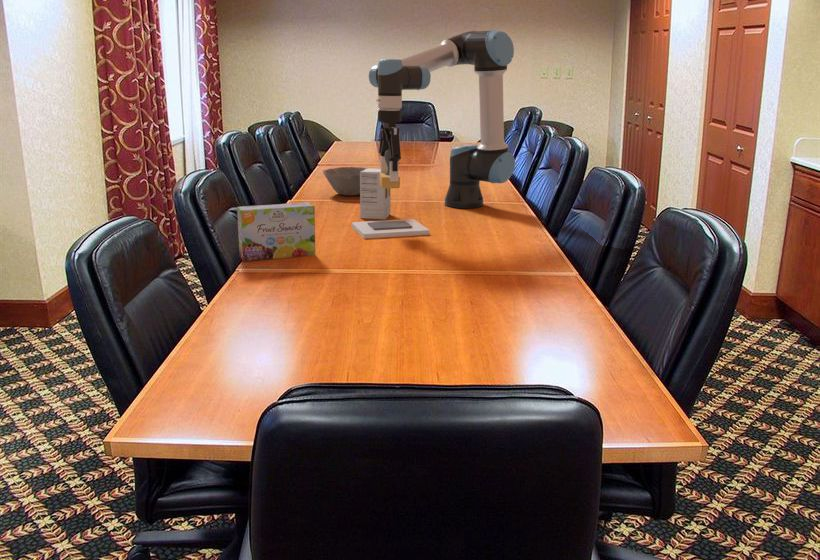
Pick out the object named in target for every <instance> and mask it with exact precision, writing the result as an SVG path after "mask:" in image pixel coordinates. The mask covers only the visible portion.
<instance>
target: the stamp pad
mask: <svg viewBox="0 0 820 560" xmlns="http://www.w3.org/2000/svg"><path fill="white" fill-rule="evenodd" d="M350 224H351V228H352V229H353V230H354V231H355V232H356V233H358V234H359V235H360V237H362V239H364V240H366V239H378V238H380V239H381V238H394V237H413V236H428V235H430V229H429V228H427V227H426V226H424V225H423V224H422V223H420V222H418V220H416V219H414V218H409V219H408V218H407V219H406V218H405V219H404V218H403V219H389V220H386V219H385V220H369V221H352V222H351V223H350Z"/></svg>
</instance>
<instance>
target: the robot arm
mask: <svg viewBox="0 0 820 560" xmlns="http://www.w3.org/2000/svg"><path fill="white" fill-rule="evenodd" d="M514 49H515V48H514V44H513V40H512V38H511V37H510V36H509V34H508V33H507V32H505V31H503V30H496V29H495V30H494V29H491V30H470V31H469V30H468V31H466V32H462V33H459V34H457V35H454V36H451V37H449V38H446V39H444V40H442V41H441V42H440V43H439V44H438V45H436V46H433V47H429V48H427V49H425V50H421V51H419V52H417V53H414V54H411V55H408V56H406V57H402V58H399V59H396V58H395V59H394V58H393V59H391V58H389V59H388V58H382V59H380V60H379V61H378V64H376V65H373V66H372V67H371V68H370V70H369V71H368V80H369V84H370V85H371V86H373V87H374V88H377V92H378V94H377V98H376V102H377V105H378V106H377V107H378V109H379V110H378V111H377V122H378V123H383V124H380V135H379V143H378V144H379V146H378V147H379V148H378V154H379V155H380V169H381V173H387V171H388V167H387V164H386V161H385V152H386V151H387V150H388V149H389V151H390V157H391V158H389V161H390V182H395V181H398V176H399V168H400V167H399V162H400V160H402V156H401V143H400V142H401V141H400V128H399V127H397V126H396V124H397V123H401V122H402V113H403V112H402V110H401V109H402V108H403V107H402V106H403V101H402V100H403V94H402V93H403V90H405V91H411V90H412V91H414V90H415V91H421V90H425V89H427V88H428V86H430V83H431V75H432V74H431V73H432V72H434V71H436V70H440V69H441V68H444V67H447V68H448V67H449V68H451V67H454V66H457V65H458V66H459V65H471V66H474V67H473V68H474V70H473V71H474V73H476V75H477V76H478V91H479V92H478V95H479V128H480V135H479V136H480V142H479V144H470V145H459V146H458V145H457V146H453V147H452V148H451V149H450V155H449V185H448V189H447V191H446V194H445V197H444V205H445V206H446V207H449V208H456V209H475V208H480V207H483V206H484V196H483V193H482V191H481V186H480V183H481V182H486V183H491V184H504V183H506V182H508V180H509V179H511V176H512V175H513V173H514V171H515V167H516V158H515V157H514V155H513V154H512V153H511V152H509V144H507V143H506V142H505V129H504V128H505V122H504V119H505V118H504V74H505V72H507V70H508V65H510V63H511V62H512V61H513V59H512V58H514V55H515V50H514Z"/></svg>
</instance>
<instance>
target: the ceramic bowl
mask: <svg viewBox="0 0 820 560" xmlns="http://www.w3.org/2000/svg"><path fill="white" fill-rule="evenodd" d="M365 169H370V167H369V168H366V167H360V166H359V167H358V166H356V167H355V166H345V167H343V166H341V167H334V168H328V169H327V168H326V169H324V170H322V173H323V175H324V176H325V178H326V180H327V181H328V183H329V184H330V186H331V188H332V189H333V191H335V192H336V193H337V194H338V195H339V196H340V195H342V196H358V195H360V172H361V171H363V170H365Z"/></svg>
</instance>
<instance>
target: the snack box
mask: <svg viewBox="0 0 820 560" xmlns="http://www.w3.org/2000/svg"><path fill="white" fill-rule="evenodd" d="M315 209H316V208H315V205H314V204H312V203H311V202H294V203H279V204H278V203H277V204H264V205H263V204H261V205H247V206H245V205H244V206H243V205H242V206H237V207H236V211H237V213H236V214H237V231H238V235H237V236H238V251H239V258H240V259H241V261H242V262H251V261H262V260H263V261H265V260H274V259H276V260H277V259H286V258H298V257H299V258H300V257H309V256H316V212H315V211H316V210H315Z"/></svg>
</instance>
